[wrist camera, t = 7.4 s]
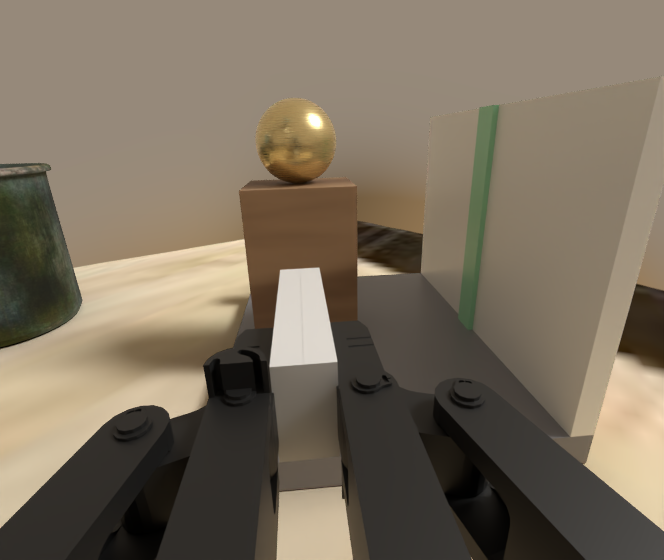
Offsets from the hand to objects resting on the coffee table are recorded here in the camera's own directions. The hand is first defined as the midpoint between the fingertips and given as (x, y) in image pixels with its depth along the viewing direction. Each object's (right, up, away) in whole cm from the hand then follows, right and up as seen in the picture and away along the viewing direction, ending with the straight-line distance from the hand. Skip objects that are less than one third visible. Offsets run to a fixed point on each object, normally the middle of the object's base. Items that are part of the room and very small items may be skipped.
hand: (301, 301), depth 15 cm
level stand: (+3, -4, +10) cm, 11 cm away
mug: (-24, -3, +14) cm, 28 cm away
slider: (0, -2, +10) cm, 10 cm away
